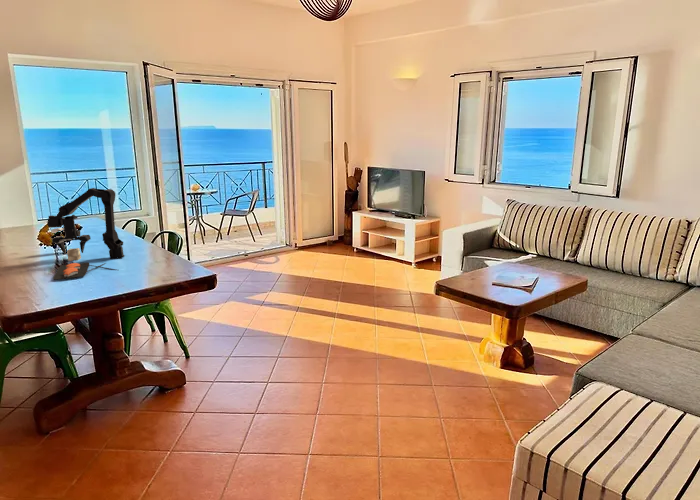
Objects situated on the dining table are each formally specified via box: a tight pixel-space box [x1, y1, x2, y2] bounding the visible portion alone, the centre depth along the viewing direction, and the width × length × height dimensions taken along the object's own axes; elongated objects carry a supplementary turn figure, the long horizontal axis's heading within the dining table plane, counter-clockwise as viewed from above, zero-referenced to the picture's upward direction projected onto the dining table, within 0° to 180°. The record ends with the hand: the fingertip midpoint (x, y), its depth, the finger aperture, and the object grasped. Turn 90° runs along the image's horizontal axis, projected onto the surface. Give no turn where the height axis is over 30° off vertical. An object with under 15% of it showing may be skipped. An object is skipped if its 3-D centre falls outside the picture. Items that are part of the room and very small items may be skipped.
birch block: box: [66, 247, 82, 262], centre depth 277 cm, size 5×5×6 cm
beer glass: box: [51, 227, 64, 234], centre depth 291 cm, size 7×7×15 cm
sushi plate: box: [52, 262, 118, 281], centre depth 254 cm, size 29×30×4 cm
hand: (73, 253), depth 277 cm, fingers open, 9 cm apart
